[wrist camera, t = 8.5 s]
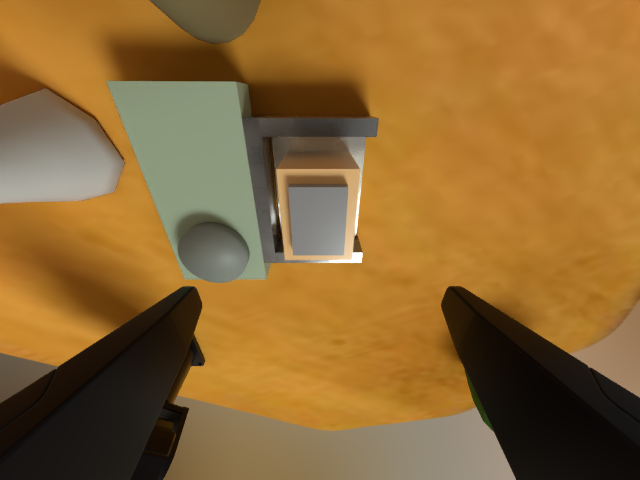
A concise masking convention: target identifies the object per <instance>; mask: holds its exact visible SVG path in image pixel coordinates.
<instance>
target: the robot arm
mask: <svg viewBox="0 0 640 480" xmlns="http://www.w3.org/2000/svg"><path fill="white" fill-rule="evenodd" d="M441 307H442V311H443V314H444V317H445V320H446V323H447V326H448V328H449V331H450V334H451V337H452V340H453V343H454V346H455V348H456V351H457V353H458V355H459V357H460V360H461V362H462V364H463V366H464V368H465V370H466V373H467V375H468V377H469V379H470V381H471V383H472V385H473V388H474V390H475V392H476V394H477V396H478V398H479V401H480V403H481V405H482V407H483V409H484V411H485V413H486V416H487V418H488V420H489V422H490V424H491V426H492V428H493V431H494V433H495V435H496V437H497V439H498V441H499V444H500V446H501V448H502V450H503V452H504V454H505V456H506V459H507V461H508V463H509V465H510V467H511V469H512V472H513V474H514V476H515V478H516V480H640V398H639V397H638V396H636V395H635V394H633V393H631V392H630V391H628V390H626V389H625V388H623V387H621V386H620V385H618V384H617V383H615V382H613V381H611V380H610V379H608V378H607V377H605V376H604V375H602V374H600V373H599V372H597V371H596V370H594V369H592V368H589V367H588V366H587V365H586V364H584V363H583V362H581V361H580V360H578V359H576V358H575V357H573V356H572V355H570V354H568V353H567V352H565V351H564V350H562V349H560V348H559V347H557V346H556V345H554V344H552V343H551V342H549V341H548V340H546V339H544V338H543V337H541V336H540V335H538V334H537V333H535V332H533V331H532V330H530V329H529V328H527V327H525V326H524V325H522V324H521V323H519V322H517V321H516V320H514V319H513V318H511V317H509V316H508V315H506V314H505V313H503V312H501V311H500V310H498V309H497V308H495V307H493V306H492V305H490V304H489V303H487V302H485V301H484V300H482V299H481V298H479V297H477V296H476V295H474V294H473V293H471V292H469V291H468V290H466V289H465V288H463V287H461V286H449V287H448V288H447V290H446V292H445V295H444V297H443V300H442V303H441ZM201 310H202V301H201V299H200V296H199V293H198V291H197V288H196V287H193V286H184V287H181V288H180V289H178V290H176V291H175V292H173V293H172V294H170V295H169V296H167V297H166V298H164V299H162V300H161V301H159V302H158V303H156V304H155V305H153V306H152V307H150V308H148V309H147V310H145V311H144V312H142V313H141V314H139V315H138V316H136V317H135V318H133V319H131V320H130V321H128V322H127V323H125V324H124V325H122V326H121V327H119V328H117V329H116V330H114V331H113V332H111V333H110V334H108V335H107V336H105V337H103V338H102V339H100V340H99V341H97V342H96V343H94V344H93V345H91V346H89V347H88V348H86V349H85V350H83V351H82V352H80V353H79V354H77V355H75V356H74V357H72V358H71V359H69V360H68V361H66V362H65V363H63V364H61V365H60V366H59V367H58V368H57V369H54V370H52V371H51V372H49V373H48V374H46V375H44V376H43V377H41V378H40V379H38V380H37V381H35V382H34V383H32V384H30V385H29V386H27V387H25V388H24V389H22V390H21V391H19V392H18V393H16V394H14V395H13V396H11V397H10V398H8V399H6V400H5V401H3V402H1V403H0V480H163V478H164V477H165V475H166V473H167V471H168V469H169V467H170V464H171V462H172V460H173V458H174V455H175V452H176V449H177V446H178V442H179V439H180V436H181V432H182V429H183V426H184V423H185V420H186V417H187V413H188V410H189V408H187V407H181V406H177V405H174V404H173V403H174V401H175V399H176V397H177V395H178V392H179V390H180V388H181V386H182V384H183V382H184V380H185V378H186V376H187V374H188V372H189V370H190V367H191V366H203V365H204V363H205V359H204V357H203V355H202V353H201V350H200V348H199V346H198V343H197V341H196V339H195V337H194V331H195V328H196V325H197V322H198V319H199V316H200V313H201Z"/></svg>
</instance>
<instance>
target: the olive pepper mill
mask: <svg viewBox="0 0 640 480" xmlns="http://www.w3.org/2000/svg"><path fill="white" fill-rule="evenodd" d="M150 1H151V2H152V3H153V4H154V5H155V6H156V7H158V8H159V9H160V10H161V11H162V12H163V13H164V14H166V15H167V16H168V17H169V18H170V19H171V20H172V21H173V22H175V23H176V24H177V25H178V26H179V27H180V28H182V29H183V30H185V31H186V32H188V33H189V34H190V35H192V36H193V37H195V38H196V39H199V40H202V41H206V42H209V43H212V44H216V43H227V42H230V41H232V40H234V39H236V38H237V37H239V36H241V35H242V34H243V33H244V32H245V31H246V29H247V28H248V27H249V26H250V24H251V23H252V22H253V20H254V18H255V15H256V12H257V9H258V6H259V3H260V0H150Z"/></svg>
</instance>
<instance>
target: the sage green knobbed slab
mask: <svg viewBox="0 0 640 480" xmlns="http://www.w3.org/2000/svg"><path fill="white" fill-rule="evenodd" d="M106 82H107V84H108V87H109V89H110V92H111V94H112V97H113V99H114V102H115V104H116V107H117V110H118V112H119V115H120V117H121V120H122V122H123V125H124V127H125V130H126V132H127V135H128V137H129V140H130V142H131V145H132V147H133V150H134V153H135V155H136V158H137V160H138V163H139V165H140V168H141V170H142V173H143V175H144V178H145V180H146V183H147V185H148V188H149V190H150V193H151V196H152V198H153V201H154V203H155V206H156V208H157V211H158V213H159V216H160V218H161V221H162V223H163V226H164V228H165V231H166V234H167V236H168V239H169V241H170V244H171V246H172V249H173V251H174V254H175V256H176V259H177V261H178V264H179V266H180V269H181V271H182V274H183V277H184V279H203V280H206V281H210V282H215V283H224V282H229V281H232V280H235V279H267V275H268V272H269V269H270V265H271V263H264V260H263V254H262V247H261V241H260V234H259V228H258V221H257V215H256V208H255V202H254V195H253V189H252V182H251V176H250V169H249V163H248V156H247V150H246V143H245V137H244V130H243V124H242V118H244V117H248V116H252V111H251V103H250V96H249V88H248V84H244V83H240V82H231V81H106Z"/></svg>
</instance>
